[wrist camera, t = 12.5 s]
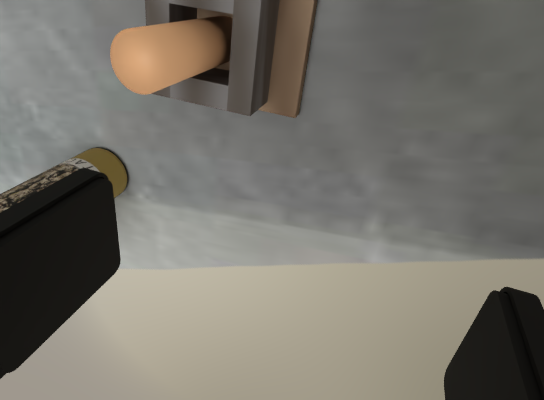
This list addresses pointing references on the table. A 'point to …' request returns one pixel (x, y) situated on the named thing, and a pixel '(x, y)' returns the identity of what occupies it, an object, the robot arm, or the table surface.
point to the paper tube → (88, 159)
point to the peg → (170, 52)
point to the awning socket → (247, 54)
